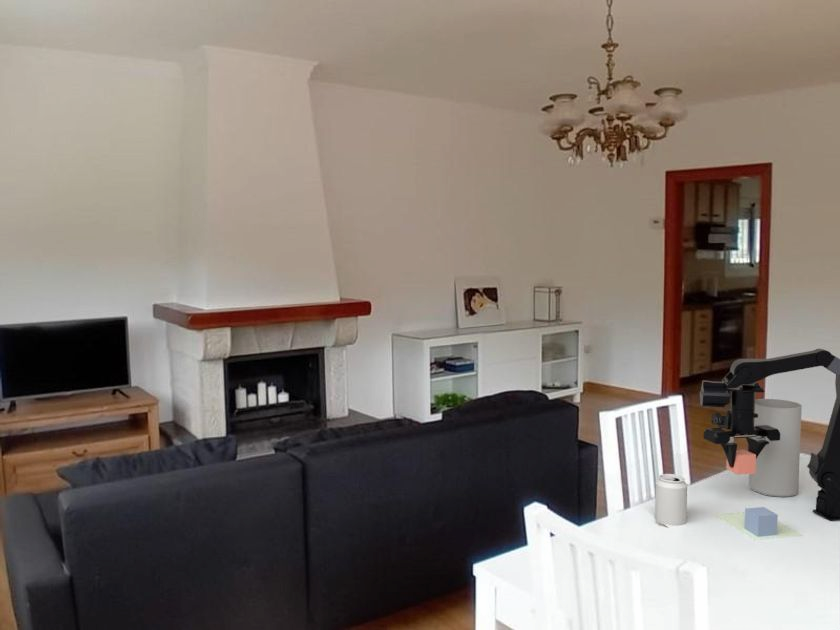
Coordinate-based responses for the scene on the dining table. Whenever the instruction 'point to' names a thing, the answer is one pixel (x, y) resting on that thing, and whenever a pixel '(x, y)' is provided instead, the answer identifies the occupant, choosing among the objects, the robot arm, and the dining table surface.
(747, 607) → the dining table surface
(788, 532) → the build board
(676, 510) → the can
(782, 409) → the gray cylinder
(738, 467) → the red brick
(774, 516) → the blue brick
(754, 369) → the robot arm
